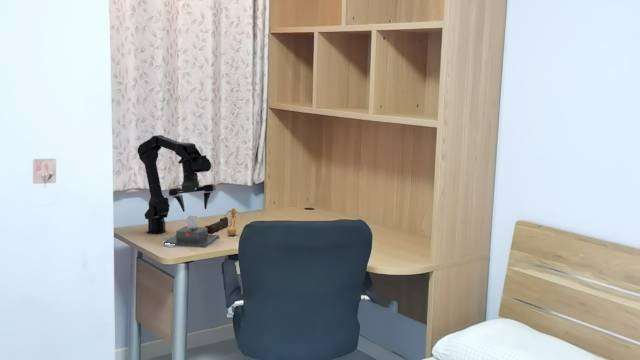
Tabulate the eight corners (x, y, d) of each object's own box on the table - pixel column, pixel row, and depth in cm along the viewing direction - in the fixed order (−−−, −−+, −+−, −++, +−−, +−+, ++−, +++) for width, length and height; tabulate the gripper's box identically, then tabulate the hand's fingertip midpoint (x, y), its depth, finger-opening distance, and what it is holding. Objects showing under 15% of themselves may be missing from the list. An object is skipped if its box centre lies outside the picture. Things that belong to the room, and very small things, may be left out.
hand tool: (212, 234, 311) (212, 224, 310) (204, 233, 312) (204, 223, 312) (233, 226, 328) (233, 216, 327) (225, 225, 330) (225, 216, 329)
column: (187, 238, 296) (186, 217, 295) (189, 237, 299) (189, 215, 298) (194, 239, 296) (194, 217, 294) (197, 237, 299) (197, 216, 297)
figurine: (221, 236, 308) (221, 208, 306) (225, 233, 314) (225, 206, 312) (239, 237, 306) (239, 209, 304) (243, 234, 312) (243, 207, 310)
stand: (163, 244, 290) (163, 231, 290) (179, 235, 308) (179, 222, 307) (205, 247, 287) (205, 233, 286) (219, 237, 305) (219, 224, 304)
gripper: (163, 176, 288) (167, 214, 289) (208, 171, 287) (213, 209, 288) (170, 175, 299) (174, 212, 300) (213, 170, 298) (218, 207, 299)
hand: (194, 210), depth 297 cm, fingers open, 9 cm apart
